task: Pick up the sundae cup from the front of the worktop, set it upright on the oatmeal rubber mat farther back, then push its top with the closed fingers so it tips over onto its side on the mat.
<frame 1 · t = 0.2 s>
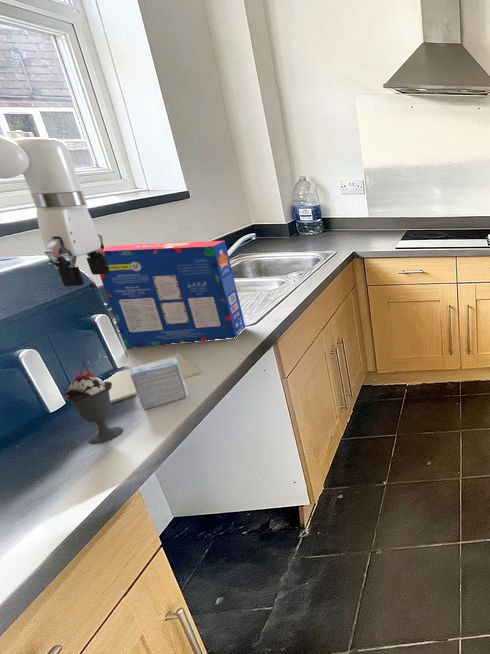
hand: (88, 279, 93), 25 cm above the table, tool pointing down, fingers open, 9 cm apart
mat: (145, 377, 102), on the table
pasta box: (189, 338, 124), on the table
sundae: (106, 436, 81), on the table
medicine box: (166, 400, 92), on the table
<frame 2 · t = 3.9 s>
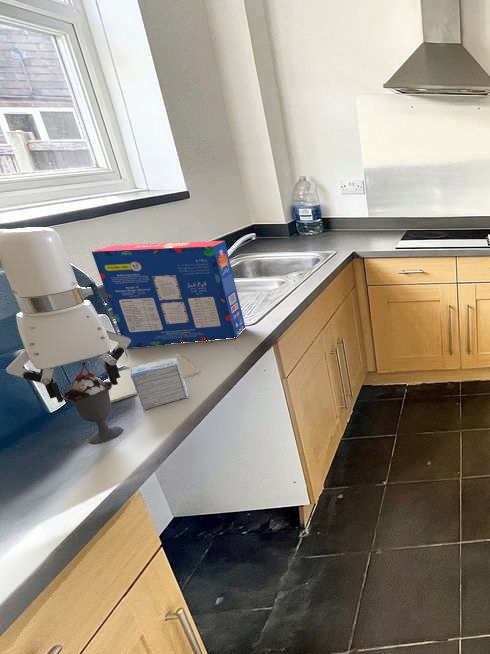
hand: (87, 390, 77), 10 cm above the table, tool pointing down, fingers closed on sundae, 6 cm apart
sundae: (106, 436, 81), on the table, touching gripper
everything else where it was.
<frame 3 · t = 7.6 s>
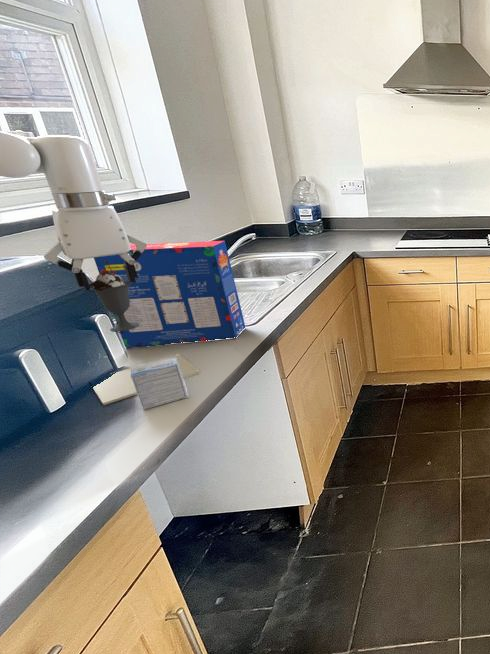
hand: (110, 284, 90), 25 cm above the table, tool pointing down, fingers closed on sundae, 6 cm apart
sundae: (125, 328, 94), point 15 cm above the table, touching gripper
everything else where it was.
when the fingers open (11 cm above the table, at t = 11.5 s): sundae stays where it is, resting on mat.
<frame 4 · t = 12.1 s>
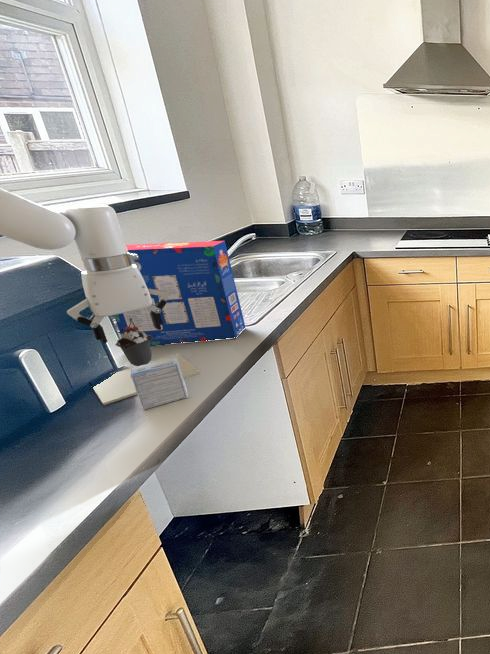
hand: (132, 334, 96), 12 cm above the table, tool pointing down, fingers open, 9 cm apart
sundae: (147, 379, 100), resting on mat
everything else where it was.
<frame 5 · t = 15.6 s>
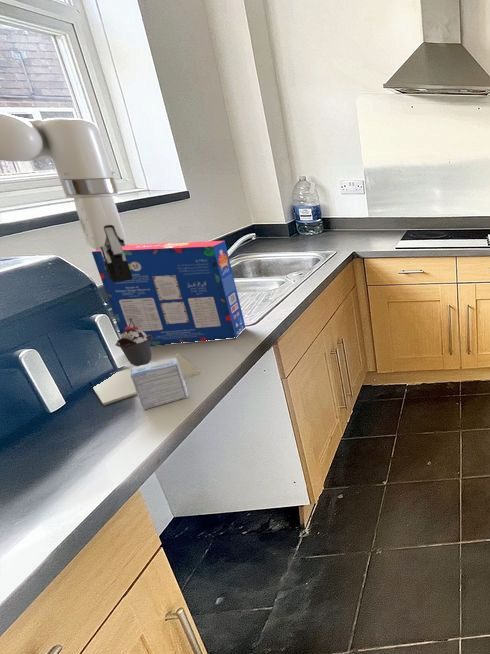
hand: (121, 279, 86), 27 cm above the table, tool pointing down, fingers closed
nothing on the table moved.
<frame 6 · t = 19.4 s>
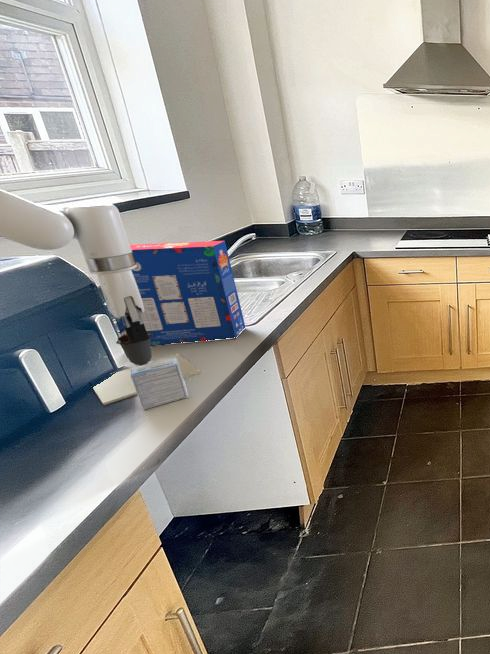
hand: (139, 340, 95), 11 cm above the table, tool pointing down, fingers closed
sundae: (147, 378, 100), point 1 cm above the table, touching gripper, mat
everything else where it was.
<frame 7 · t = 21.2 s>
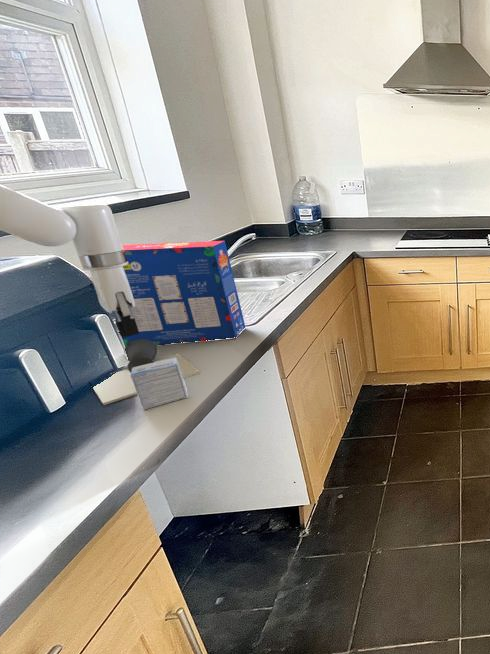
hand: (130, 334, 99), 11 cm above the table, tool pointing down, fingers closed
sundae: (141, 366, 101), point 3 cm above the table, touching mat
everything else where it was.
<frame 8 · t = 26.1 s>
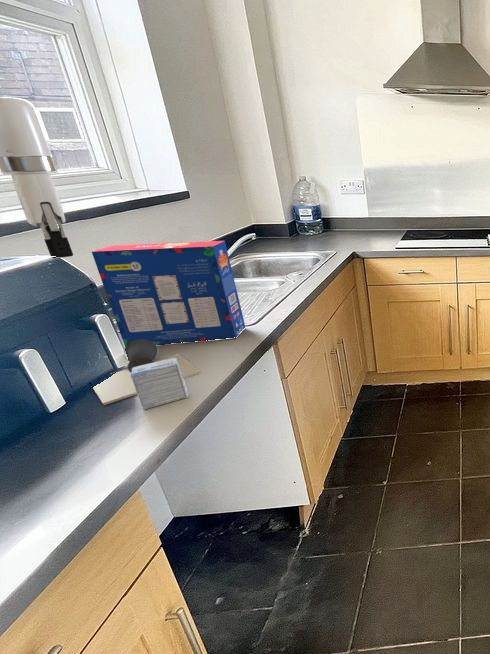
hand: (62, 256, 88), 31 cm above the table, tool pointing down, fingers closed
nothing on the table moved.
at the end: sundae tilted 89°; sundae inside the target area on the mat (0.8 cm from its centre), point 3.0 cm above the mat's base; the gripper is holding nothing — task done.
